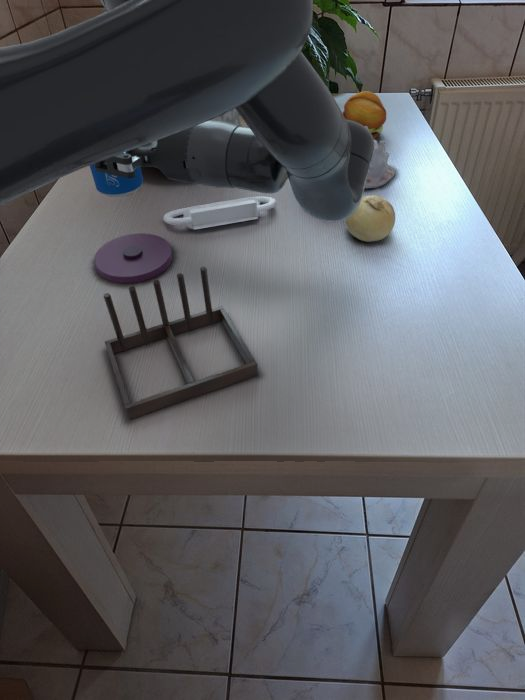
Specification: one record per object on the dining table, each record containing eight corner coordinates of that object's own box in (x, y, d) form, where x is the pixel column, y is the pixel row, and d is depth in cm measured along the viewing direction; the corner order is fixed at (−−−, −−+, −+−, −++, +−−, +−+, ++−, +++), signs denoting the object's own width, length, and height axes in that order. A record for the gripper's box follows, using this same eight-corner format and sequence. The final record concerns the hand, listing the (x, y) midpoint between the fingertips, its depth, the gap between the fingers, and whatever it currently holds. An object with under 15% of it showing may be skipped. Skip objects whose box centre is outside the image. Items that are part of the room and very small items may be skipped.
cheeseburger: (366, 122, 116) (377, 79, 107) (387, 150, 111) (401, 107, 102) (327, 128, 113) (335, 85, 105) (347, 157, 108) (358, 115, 100)
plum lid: (104, 291, 74) (101, 282, 72) (90, 250, 81) (87, 241, 80) (181, 270, 77) (180, 260, 75) (161, 232, 85) (159, 223, 83)
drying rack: (129, 419, 57) (109, 365, 50) (108, 351, 65) (89, 297, 58) (258, 375, 61) (255, 320, 54) (223, 316, 69) (217, 262, 62)
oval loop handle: (270, 206, 93) (268, 185, 91) (282, 217, 86) (281, 195, 84) (163, 224, 89) (159, 203, 87) (167, 237, 82) (163, 214, 81)
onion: (334, 235, 82) (337, 195, 77) (363, 216, 86) (368, 178, 81) (373, 253, 78) (379, 213, 73) (402, 233, 82) (410, 193, 77)
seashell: (326, 177, 97) (329, 128, 90) (366, 158, 102) (372, 111, 96) (366, 195, 92) (373, 144, 85) (406, 174, 97) (415, 125, 90)
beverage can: (94, 202, 67) (65, 108, 59) (101, 180, 72) (75, 90, 63) (142, 198, 67) (120, 104, 59) (146, 176, 72) (126, 86, 63)
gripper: (228, 99, 62) (117, 88, 67) (169, 145, 53) (46, 127, 58) (233, 158, 67) (130, 143, 73) (180, 209, 58) (66, 187, 63)
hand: (93, 136), depth 65 cm, fingers closed on beverage can, 6 cm apart
